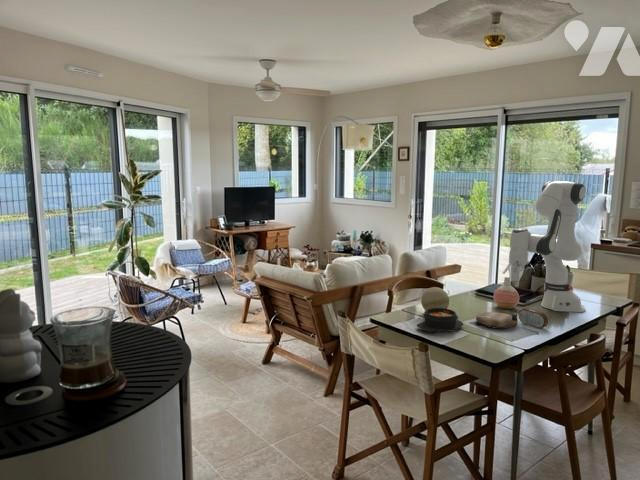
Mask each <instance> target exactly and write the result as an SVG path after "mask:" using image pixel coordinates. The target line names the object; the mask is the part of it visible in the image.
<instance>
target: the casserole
mask: <svg viewBox="0 0 640 480" xmlns="http://www.w3.org/2000/svg"><path fill="white" fill-rule="evenodd" d="M424 311H425V310H424ZM423 318H424V320H423V321H421V322H420V323H417V324H416V327H417V328H419V329H421V330H422V331H427V332H430V333H431V332H435V333H436V332H438V333H439V332H440V333H441V332H442V333H444V332H452V331H456V330H459V328H460V327H462V326H464V323H463V321H460V320H458V319H459V317H458V315H457V312H456V311H454V310H453V309H448V308H447V309H444V308H432V309H428V310H426V311H425V312H424V313H423Z"/></svg>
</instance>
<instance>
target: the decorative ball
mask: <svg viewBox="0 0 640 480" xmlns="http://www.w3.org/2000/svg"><path fill="white" fill-rule="evenodd" d="M420 299H421V301H420V303H421V306H422V309H424V311H426V310H428V309H432V308H444V309H448V308H449V305H450V298H449V295H448V293H447V291H445V290H444V289H443V288H440V287H437V286H433V287H429V288H427V289H425V290H424V291H423V293H422V295H421V298H420Z"/></svg>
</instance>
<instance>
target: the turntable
mask: <svg viewBox="0 0 640 480" xmlns="http://www.w3.org/2000/svg"><path fill="white" fill-rule="evenodd" d="M475 317H476V318H475V321H477V322H478V323H480V324H482V325H484V326H486V325H488V326H494V327H508V328H510V327H511V328H512V327H515V326H517V324H518V313H511V314H509V313H503V312H494V311H485V312H480V313H477V314H476V316H475ZM488 326H487V327H488Z"/></svg>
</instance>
